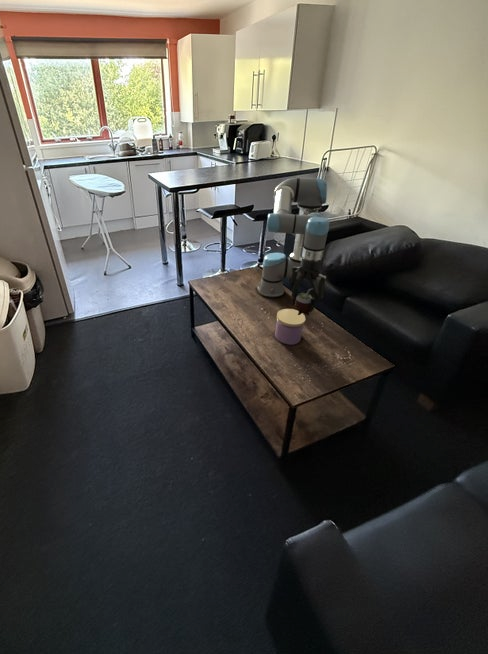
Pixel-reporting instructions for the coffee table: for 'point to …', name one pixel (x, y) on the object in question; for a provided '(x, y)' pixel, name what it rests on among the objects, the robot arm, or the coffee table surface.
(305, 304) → the mate gourd
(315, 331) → the coffee table surface
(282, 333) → the jar
